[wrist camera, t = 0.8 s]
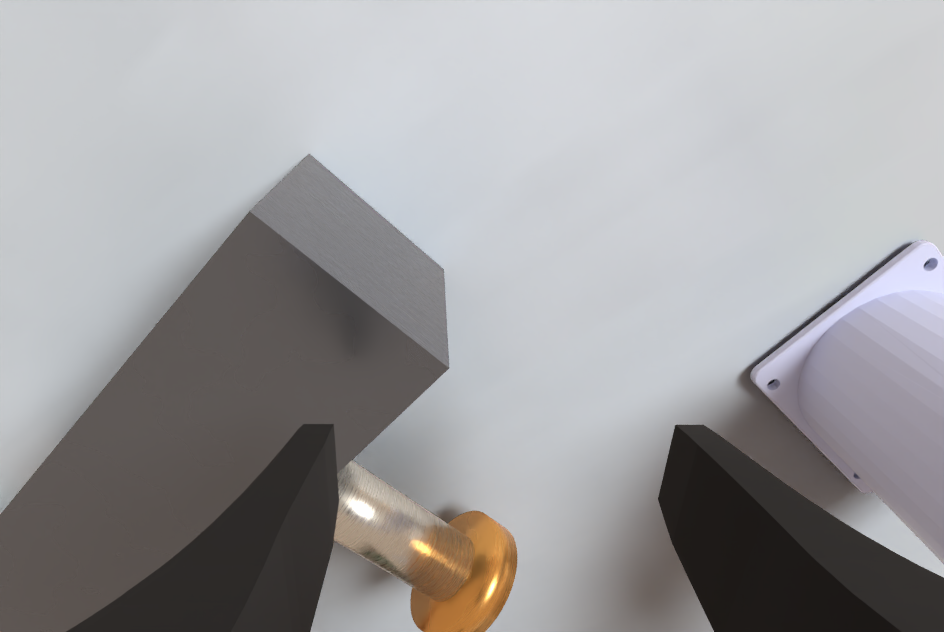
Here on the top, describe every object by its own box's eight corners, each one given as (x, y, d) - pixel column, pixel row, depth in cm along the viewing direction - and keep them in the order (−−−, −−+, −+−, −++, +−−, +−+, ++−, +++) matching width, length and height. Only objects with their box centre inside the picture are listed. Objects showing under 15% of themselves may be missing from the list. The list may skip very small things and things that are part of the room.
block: (443, 269, 21) (449, 368, 15) (194, 522, 26) (118, 681, 19) (309, 153, 19) (250, 211, 13) (63, 449, 24) (-71, 601, 17)
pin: (509, 503, 25) (525, 601, 20) (432, 566, 26) (432, 671, 22) (309, 360, 21) (278, 443, 17) (232, 441, 23) (185, 537, 18)
